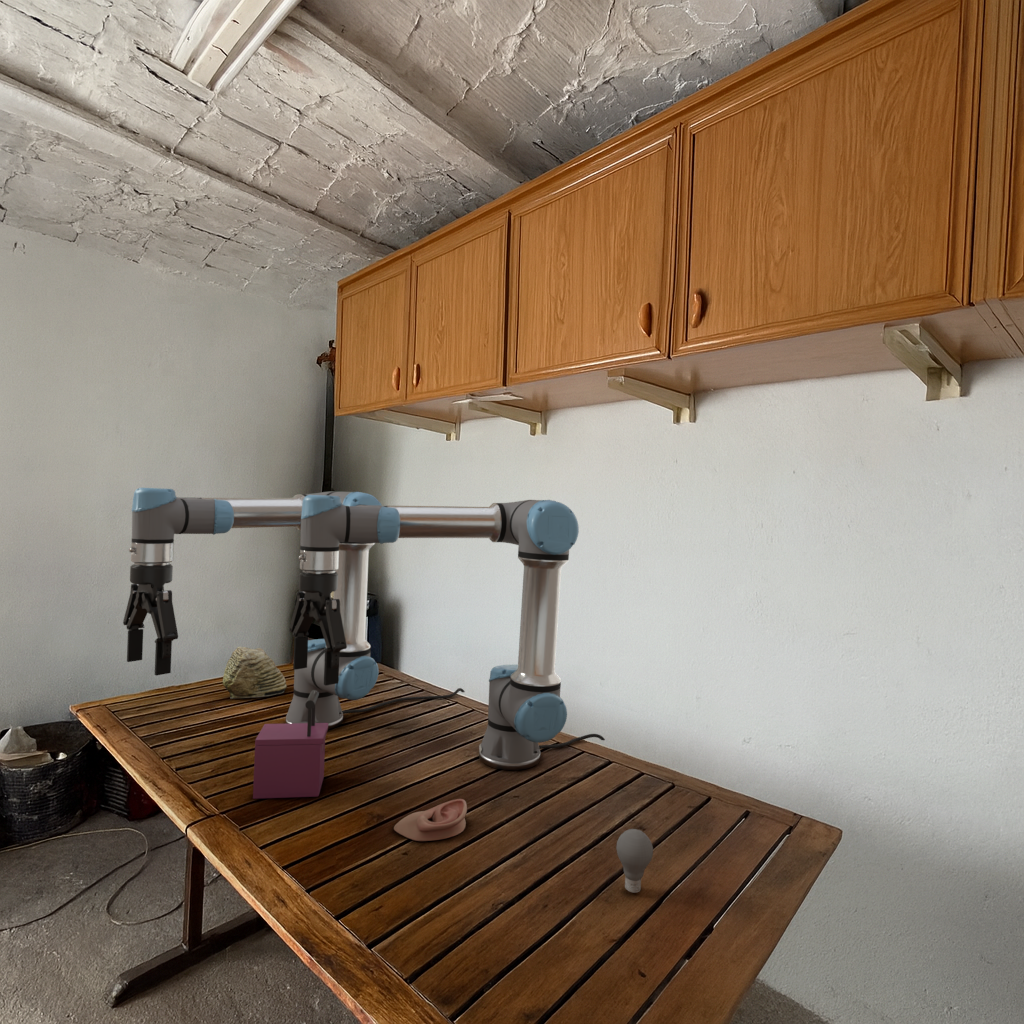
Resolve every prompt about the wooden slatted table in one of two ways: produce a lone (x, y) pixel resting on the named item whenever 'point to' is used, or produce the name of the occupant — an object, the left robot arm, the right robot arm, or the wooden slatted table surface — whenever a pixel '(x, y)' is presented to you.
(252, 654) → the fossil
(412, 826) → the anatomical model
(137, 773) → the wooden slatted table surface
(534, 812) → the wooden slatted table surface
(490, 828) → the wooden slatted table surface
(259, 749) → the chest
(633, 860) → the light bulb
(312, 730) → the lid
